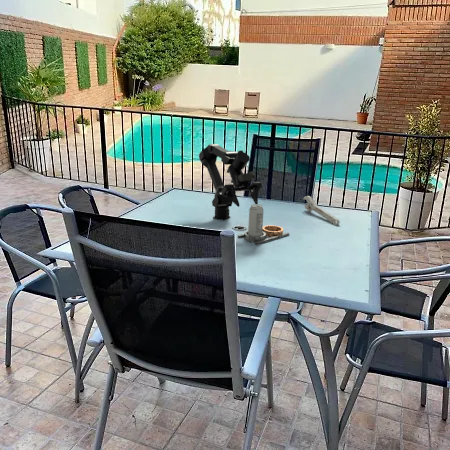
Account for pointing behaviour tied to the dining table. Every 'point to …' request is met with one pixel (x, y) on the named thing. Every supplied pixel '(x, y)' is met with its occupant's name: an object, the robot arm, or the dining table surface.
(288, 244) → the dining table surface
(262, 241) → the socket rail
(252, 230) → the energy drink can
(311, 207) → the wrench
